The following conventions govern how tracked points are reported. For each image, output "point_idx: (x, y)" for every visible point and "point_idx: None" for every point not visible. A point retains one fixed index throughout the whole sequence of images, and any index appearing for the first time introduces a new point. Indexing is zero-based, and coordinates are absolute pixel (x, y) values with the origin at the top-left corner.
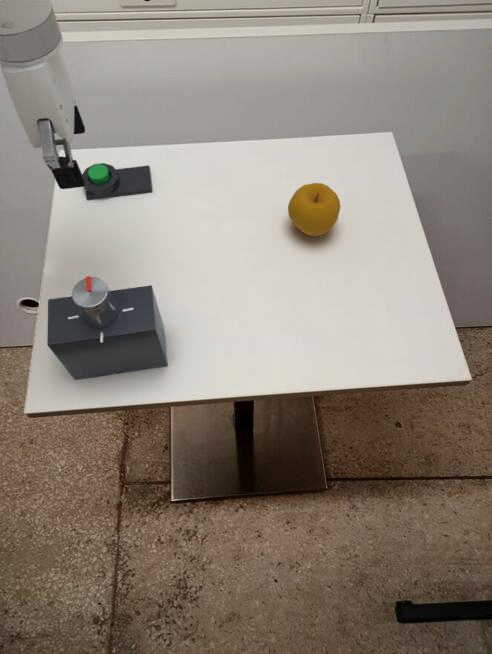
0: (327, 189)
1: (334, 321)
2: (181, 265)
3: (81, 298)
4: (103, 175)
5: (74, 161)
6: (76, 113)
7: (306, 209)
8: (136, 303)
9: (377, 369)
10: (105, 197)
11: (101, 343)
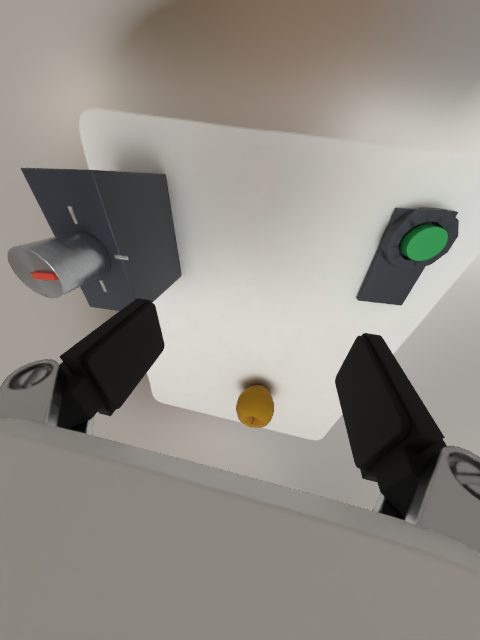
0: (257, 426)
1: (184, 373)
2: (244, 303)
3: (19, 261)
4: (410, 252)
5: (103, 412)
6: (354, 450)
7: (243, 411)
8: (114, 295)
9: (155, 377)
10: (382, 238)
11: None
